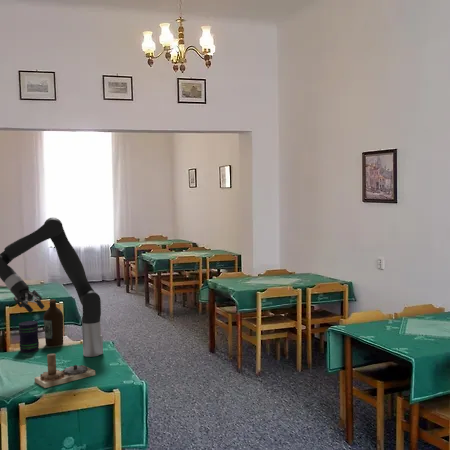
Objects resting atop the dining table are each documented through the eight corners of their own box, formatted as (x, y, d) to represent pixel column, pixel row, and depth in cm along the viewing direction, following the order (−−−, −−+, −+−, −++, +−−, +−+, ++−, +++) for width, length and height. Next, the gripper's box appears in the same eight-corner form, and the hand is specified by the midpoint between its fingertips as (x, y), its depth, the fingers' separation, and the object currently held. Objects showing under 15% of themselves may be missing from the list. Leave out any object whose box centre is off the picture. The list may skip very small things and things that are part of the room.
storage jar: (42, 350, 297) (41, 322, 296) (24, 354, 290) (23, 326, 290) (34, 346, 304) (32, 320, 304) (16, 350, 298) (15, 323, 297)
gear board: (84, 369, 261) (83, 359, 261) (95, 374, 253) (94, 364, 253) (34, 382, 245) (34, 371, 245) (45, 388, 237) (44, 377, 237)
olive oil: (56, 340, 316) (54, 297, 315) (68, 343, 310) (66, 299, 309) (40, 344, 308) (38, 300, 306) (52, 347, 301) (50, 302, 300)
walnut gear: (58, 371, 252) (57, 350, 251) (67, 376, 244) (66, 354, 244) (36, 377, 245) (35, 354, 245) (46, 382, 238) (45, 359, 237)
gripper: (10, 282, 258) (32, 307, 255) (30, 277, 271) (51, 301, 268) (2, 293, 260) (23, 318, 257) (22, 288, 273) (42, 311, 270)
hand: (37, 309), depth 263 cm, fingers open, 8 cm apart
